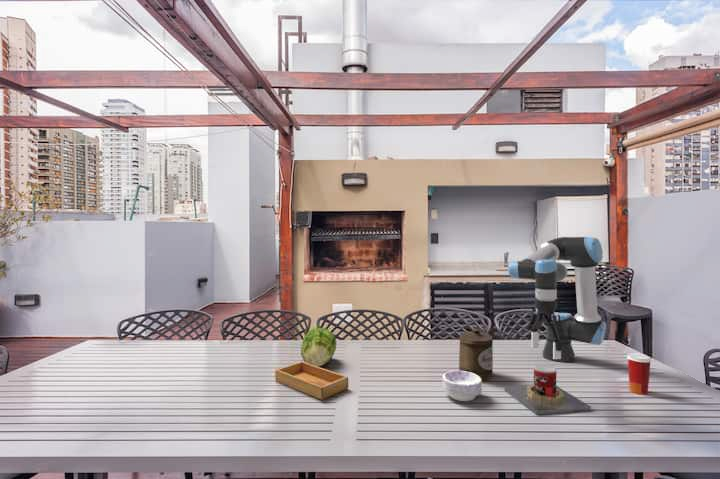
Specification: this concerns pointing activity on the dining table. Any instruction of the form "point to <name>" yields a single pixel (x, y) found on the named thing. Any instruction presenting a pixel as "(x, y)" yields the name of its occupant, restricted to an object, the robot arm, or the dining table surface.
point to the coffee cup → (638, 372)
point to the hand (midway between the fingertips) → (545, 353)
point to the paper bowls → (462, 385)
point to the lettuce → (318, 346)
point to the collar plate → (546, 406)
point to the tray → (312, 379)
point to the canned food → (545, 380)
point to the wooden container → (476, 353)
